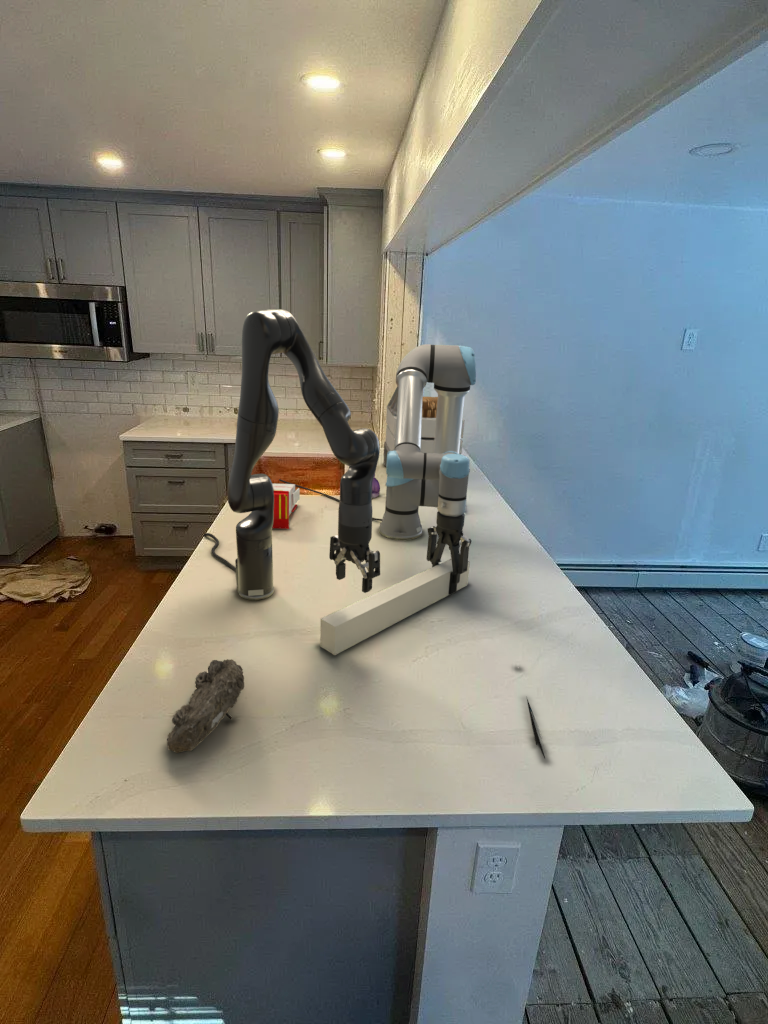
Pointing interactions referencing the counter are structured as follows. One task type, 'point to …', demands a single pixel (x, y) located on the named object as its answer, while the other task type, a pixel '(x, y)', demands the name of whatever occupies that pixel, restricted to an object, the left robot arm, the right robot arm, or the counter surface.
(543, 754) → the feather
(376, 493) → the figurine
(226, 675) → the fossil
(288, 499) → the toy
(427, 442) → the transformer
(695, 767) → the counter surface
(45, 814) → the counter surface
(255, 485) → the left robot arm
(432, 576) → the beam
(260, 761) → the counter surface
